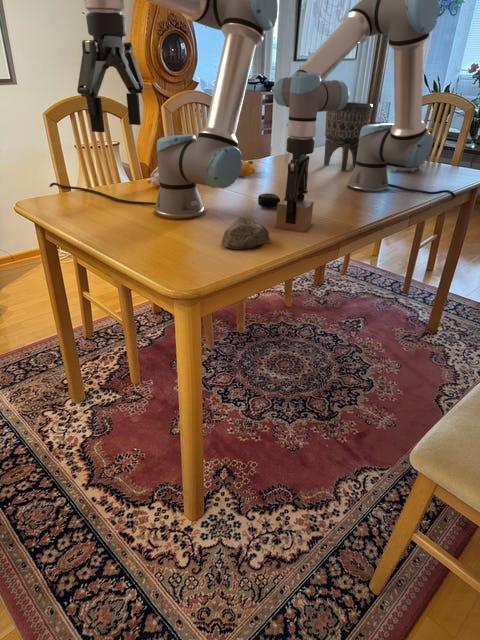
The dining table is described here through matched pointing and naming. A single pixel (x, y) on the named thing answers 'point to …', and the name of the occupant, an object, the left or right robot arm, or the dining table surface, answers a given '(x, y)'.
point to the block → (302, 215)
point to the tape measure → (268, 200)
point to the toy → (247, 168)
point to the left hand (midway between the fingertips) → (117, 128)
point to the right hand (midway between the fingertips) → (294, 219)
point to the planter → (345, 130)
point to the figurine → (154, 177)
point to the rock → (245, 234)
